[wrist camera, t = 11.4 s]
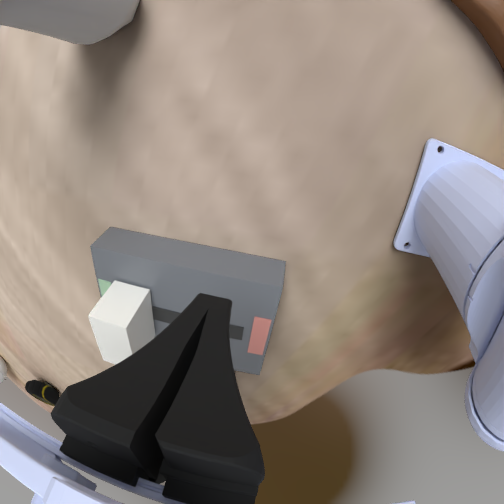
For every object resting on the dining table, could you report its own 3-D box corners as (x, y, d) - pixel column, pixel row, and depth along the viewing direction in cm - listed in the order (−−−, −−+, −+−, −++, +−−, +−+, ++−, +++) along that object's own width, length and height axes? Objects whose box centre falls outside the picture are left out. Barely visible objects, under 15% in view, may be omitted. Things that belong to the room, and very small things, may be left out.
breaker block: (285, 261, 21) (282, 288, 19) (263, 349, 27) (259, 376, 24) (110, 226, 22) (89, 246, 20) (124, 315, 28) (110, 337, 25)
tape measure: (26, 375, 44) (22, 391, 41) (41, 376, 42) (36, 393, 39) (50, 390, 48) (46, 405, 45) (67, 392, 46) (63, 408, 44)
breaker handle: (149, 289, 21) (125, 328, 17) (155, 334, 23) (137, 372, 20) (114, 280, 21) (88, 315, 17) (124, 325, 24) (103, 360, 20)
